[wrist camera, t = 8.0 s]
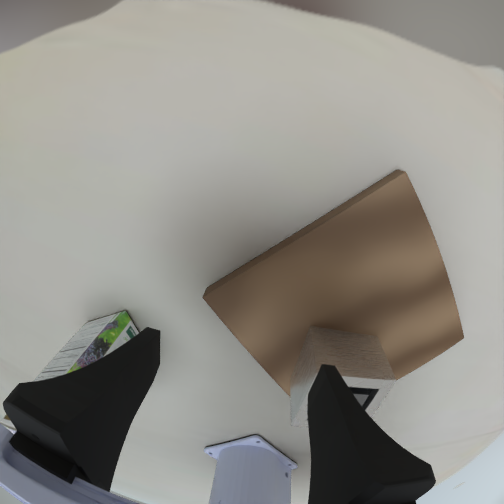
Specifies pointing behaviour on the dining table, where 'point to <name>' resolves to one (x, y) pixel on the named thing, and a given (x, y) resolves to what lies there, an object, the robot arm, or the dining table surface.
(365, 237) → the board
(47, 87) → the dining table surface
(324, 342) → the cube with square recess
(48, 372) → the syrup box
